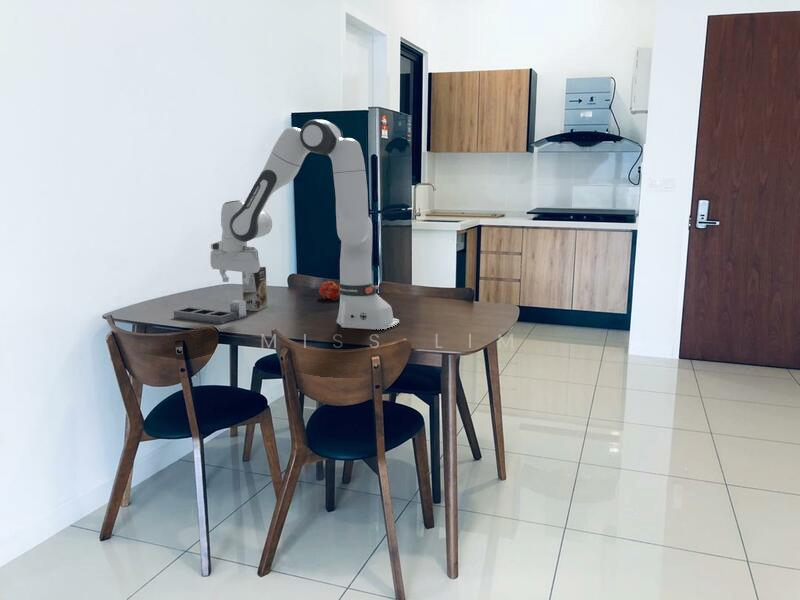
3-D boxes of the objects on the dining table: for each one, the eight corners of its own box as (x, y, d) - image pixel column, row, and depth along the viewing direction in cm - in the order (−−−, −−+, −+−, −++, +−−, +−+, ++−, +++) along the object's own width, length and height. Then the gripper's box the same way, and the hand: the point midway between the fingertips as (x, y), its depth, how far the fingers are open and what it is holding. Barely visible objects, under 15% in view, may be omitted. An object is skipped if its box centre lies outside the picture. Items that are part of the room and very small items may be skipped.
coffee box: (258, 311, 246) (256, 270, 242) (243, 310, 247) (241, 269, 244) (268, 306, 254) (266, 266, 251) (253, 305, 256) (251, 266, 252)
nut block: (246, 316, 238) (245, 300, 237) (239, 318, 234) (238, 302, 233) (237, 315, 240) (237, 299, 238) (230, 317, 236) (229, 301, 235)
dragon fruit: (319, 300, 273) (342, 307, 268) (310, 292, 266) (333, 299, 261) (328, 283, 276) (351, 290, 270) (319, 274, 269) (342, 281, 263)
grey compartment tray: (235, 319, 233) (235, 312, 232) (220, 323, 226) (220, 317, 225) (189, 313, 242) (189, 307, 241) (174, 317, 235) (173, 311, 234)
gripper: (263, 246, 230) (264, 284, 233) (218, 242, 239) (220, 279, 242) (252, 248, 225) (253, 286, 227) (206, 244, 233) (208, 281, 236)
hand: (235, 282), depth 235 cm, fingers open, 8 cm apart
